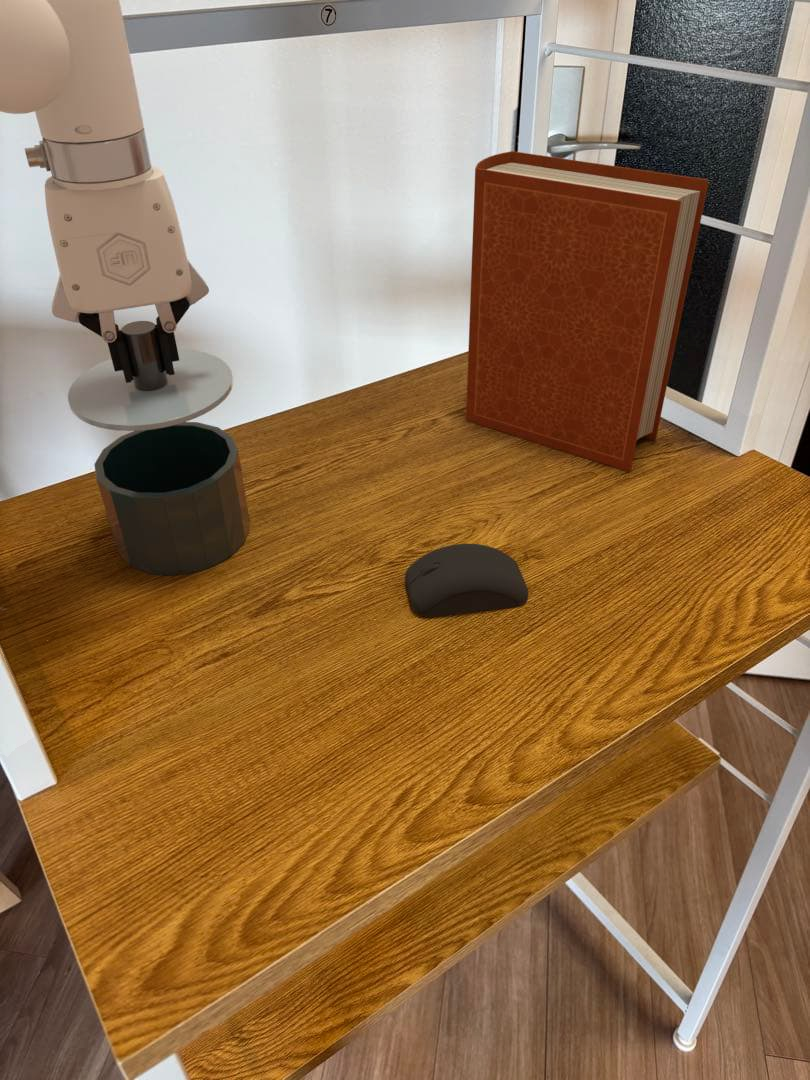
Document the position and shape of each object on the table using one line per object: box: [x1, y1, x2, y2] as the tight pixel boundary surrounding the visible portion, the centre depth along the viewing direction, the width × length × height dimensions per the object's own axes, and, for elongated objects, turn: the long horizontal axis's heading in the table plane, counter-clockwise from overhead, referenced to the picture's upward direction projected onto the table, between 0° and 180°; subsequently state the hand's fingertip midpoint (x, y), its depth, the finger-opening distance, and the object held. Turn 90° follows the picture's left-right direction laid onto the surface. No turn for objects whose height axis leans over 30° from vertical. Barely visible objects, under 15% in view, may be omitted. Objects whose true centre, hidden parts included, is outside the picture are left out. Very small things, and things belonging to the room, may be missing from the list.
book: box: [465, 150, 710, 473], centre depth 94 cm, size 23×8×30 cm, turn 56°
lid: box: [67, 320, 234, 432], centre depth 75 cm, size 15×15×7 cm
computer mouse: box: [404, 543, 529, 618], centre depth 79 cm, size 6×11×4 cm, turn 99°
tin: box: [94, 421, 251, 576], centre depth 84 cm, size 14×14×10 cm
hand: (148, 370), depth 76 cm, fingers closed on lid, 3 cm apart
